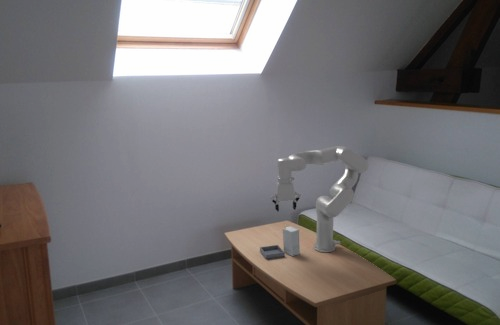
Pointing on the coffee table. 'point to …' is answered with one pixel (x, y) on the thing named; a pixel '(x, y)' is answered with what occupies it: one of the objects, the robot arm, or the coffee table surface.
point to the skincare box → (291, 241)
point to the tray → (272, 252)
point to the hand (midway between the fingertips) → (286, 209)
